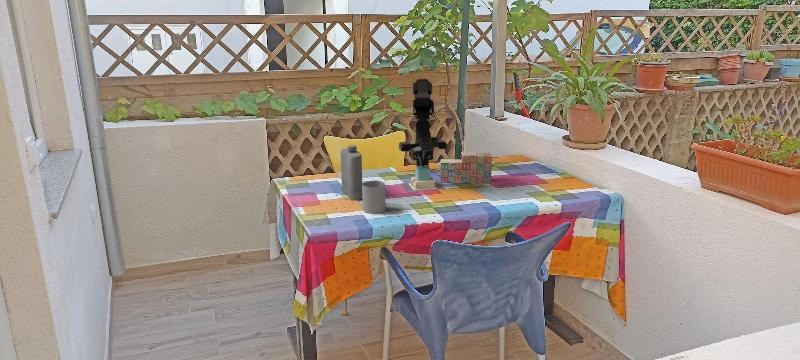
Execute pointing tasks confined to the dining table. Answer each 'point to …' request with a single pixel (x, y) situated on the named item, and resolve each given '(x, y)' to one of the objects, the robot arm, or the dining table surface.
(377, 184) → the cup
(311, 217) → the dining table surface
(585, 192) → the dining table surface
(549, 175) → the dining table surface
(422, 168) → the teal cube
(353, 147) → the flask
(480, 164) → the stack of blocks
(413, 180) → the maple slab
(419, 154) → the robot arm
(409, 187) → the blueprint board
